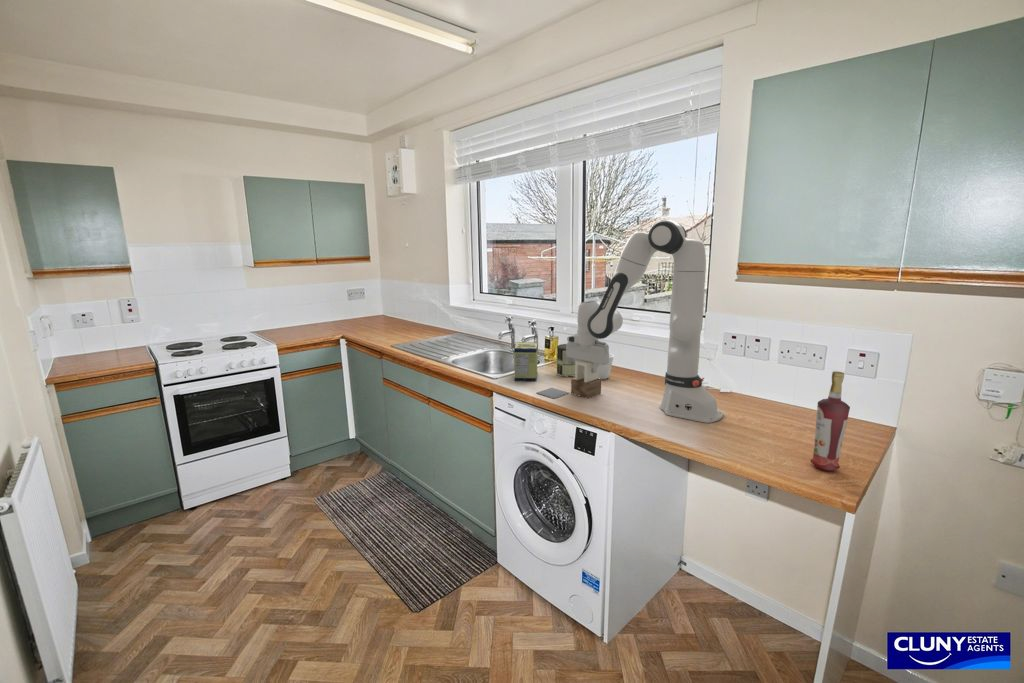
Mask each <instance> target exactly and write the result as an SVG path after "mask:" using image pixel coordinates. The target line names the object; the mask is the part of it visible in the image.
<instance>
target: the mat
mask: <svg viewBox="0 0 1024 683" xmlns="http://www.w3.org/2000/svg"><path fill="white" fill-rule="evenodd" d="M536 393H539V394H538V395H540V394H542V395H541V396H543V395H545V396H544V397H546V396H548V397H547V398H549V397H552V398H551V399H553V398H555V399H557V398H556V397H558V398H560V397H559V396H561V397H563V396H562V395H564V396H566V395H565V394H567V395H569V394H570V392H568V391H565V390H561V389H558V388H554V387H550V388H546V389H543V390H541V391H537V392H536ZM568 393H569V394H568Z"/></svg>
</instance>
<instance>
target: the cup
mask: <svg viewBox="0 0 1024 683" xmlns="http://www.w3.org/2000/svg"><path fill="white" fill-rule="evenodd" d="M614 357H615V355H614V354H612V353H609V363H608V364H605V365H601V364H599V366H598V378H600V379H602V380H608V379H609V378H610V376H611V375H610V374H611V370H612V365H613V360H614ZM607 378H608V379H607Z"/></svg>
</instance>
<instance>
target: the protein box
mask: <svg viewBox="0 0 1024 683" xmlns="http://www.w3.org/2000/svg"><path fill="white" fill-rule="evenodd" d="M513 351H514V353H513V356H514V364H513V365H514V370H513V371H514V373H513V374H514V381H515V382H518V381H519V382H536V381H537V379H538V361H539V360H538V342H525V341H523V342H518V341H517V342H516V344H515V347H514V348H513Z"/></svg>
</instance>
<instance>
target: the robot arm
mask: <svg viewBox="0 0 1024 683" xmlns="http://www.w3.org/2000/svg"><path fill="white" fill-rule="evenodd" d="M658 251H659V252H661V253H665V254H668V255H671V256H672V258H673V268H672V270H673V271H672V284H671V285H672V287H671V299H670V300H671V301H670V314H669V337H668V338H669V339H668V340H669V341H668V348H667V350H668V351H667V363H666V364H667V366H666V372H665V375H664V385H665V387H664V393H663V395H662V396H663V397H662V400H661V402H660V406H659V408H660V409H661V411H663V412H664V414H665V415H666V416H669V417H676V418H680V419H686V420H690V421H694V422H700V423H704V424H705V423H706V424H711V423H716V422H718V421H719V420H722V418H723V417H724V412H723V411H722V410H720V409H718V403H717V402H718V401H717V399H716V397H715V396H713V394H711V393H710V392H709V391H708V389H706V388H705V387H704V386H703V385H702V384H703V382H704V381H705V377H701V376H700V375H699V374H698V373H699V363H700V362H699V361H700V347H701V335H702V334H701V333H702V329H703V321H704V320H703V319H704V304H705V303H704V301H705V299H704V298H705V287H706V286H705V285H706V275H707V274H706V271H707V257H706V256H707V255H706V248H705V244H704V243H703V242H702V241H700V240H698V239H692V238H691V239H689V238H687V231H686V229H685V227H684V225H682V224H680V223H679V222H677V221H674V220H660V221H657V222H656V223H654V224H653V225H652V226H651V227H650V229H649V231H648V232H646V231H635V232H633V233H632V234H631V235H629V238H628V240H627V241H626V243H625V245H624V247H623V249H622V251H621V253H620V255H619V257H618V261H617V264H616V266H615V268H614V272H613V274H612V278H611V279H610V283H609V284H608V287H607V289H606V290H605V293H604V295H603V297H602V300H600V302H599V301H598V300H594V299H593V300H586V301H583V302H580V304H579V306H578V310H577V321H576V322H577V326H578V327H577V330H576V333H575V334H572V335H568V336H567V337H566V341H567V343H566V344H567V345H566V355H567V357H569V358H573V359H575V361H578V360H583V361H587V362H592V363H594V365H595V366H594V368H592V369H591V372H592V373H596V372H597V368H598V366H599V364H601V365H605V364H608V363H609V354H610V352H609V348H610V347H609V344H608V343H607V342H606V341H600V340H601V339H606V338H608V337H609V336H610V335H612V334H614V333H615V332H618V331H619V330H620V329H621V328H622V326H623V317H622V314H621V313H620V312H619V311H618V310H617V309H618V306H619V304H620V302H621V300H622V298H623V296H624V295H625V294H626V292H627V291H628V290H629V289H631V288H632V287H633V286H635V285H636V284H638V283H639V282H640V280H641V279H642V277H643V276H644V274H645V273H646V270H647V269H648V265H649V263H650V261H651V258H652V257H653V255H654V254H655V253H656V252H658Z"/></svg>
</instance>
